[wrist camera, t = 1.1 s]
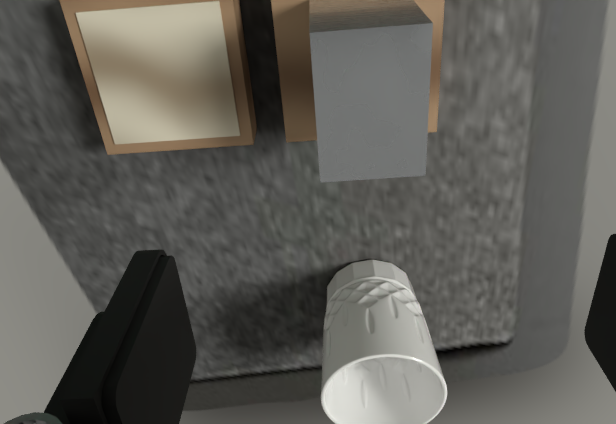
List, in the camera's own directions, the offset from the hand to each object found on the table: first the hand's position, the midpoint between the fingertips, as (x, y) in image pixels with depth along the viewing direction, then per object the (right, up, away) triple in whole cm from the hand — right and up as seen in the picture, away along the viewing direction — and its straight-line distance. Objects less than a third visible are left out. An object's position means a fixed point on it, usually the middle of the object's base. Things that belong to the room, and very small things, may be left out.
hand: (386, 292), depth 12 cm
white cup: (+3, -4, +30) cm, 31 cm away
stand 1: (-10, +11, +20) cm, 25 cm away
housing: (+1, +10, +18) cm, 20 cm away
